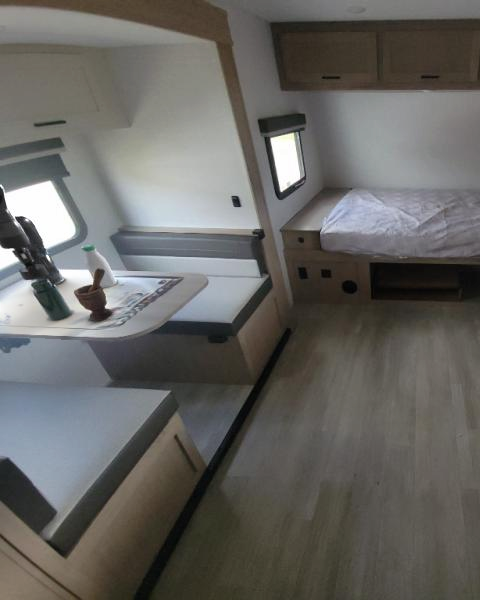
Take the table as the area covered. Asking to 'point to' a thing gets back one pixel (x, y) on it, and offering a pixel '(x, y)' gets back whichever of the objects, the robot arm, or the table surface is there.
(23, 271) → the lid
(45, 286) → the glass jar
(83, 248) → the milk bottle
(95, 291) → the mortar and pestle
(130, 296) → the table surface
